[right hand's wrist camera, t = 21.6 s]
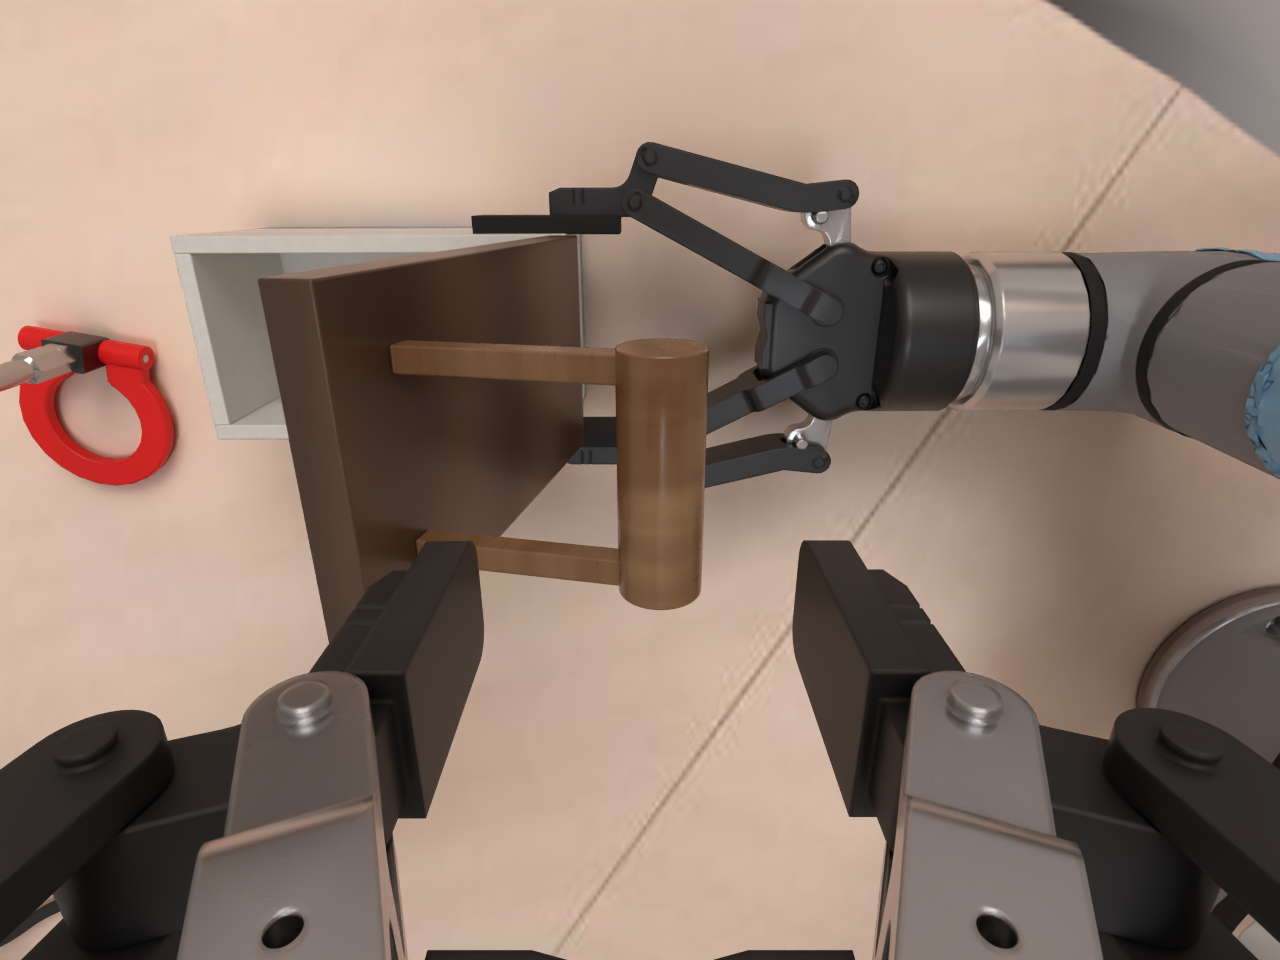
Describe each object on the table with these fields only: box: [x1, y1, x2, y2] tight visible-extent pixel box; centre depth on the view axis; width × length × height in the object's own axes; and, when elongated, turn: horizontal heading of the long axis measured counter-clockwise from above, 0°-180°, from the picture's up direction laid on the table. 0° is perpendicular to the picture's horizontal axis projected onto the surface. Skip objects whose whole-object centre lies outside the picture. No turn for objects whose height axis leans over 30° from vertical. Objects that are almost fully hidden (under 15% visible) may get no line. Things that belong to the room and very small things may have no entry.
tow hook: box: [0, 326, 174, 485], centre depth 36 cm, size 8×13×9 cm
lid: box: [258, 235, 709, 643], centre depth 23 cm, size 18×9×9 cm
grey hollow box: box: [170, 227, 586, 439], centre depth 36 cm, size 17×9×9 cm, turn 90°
